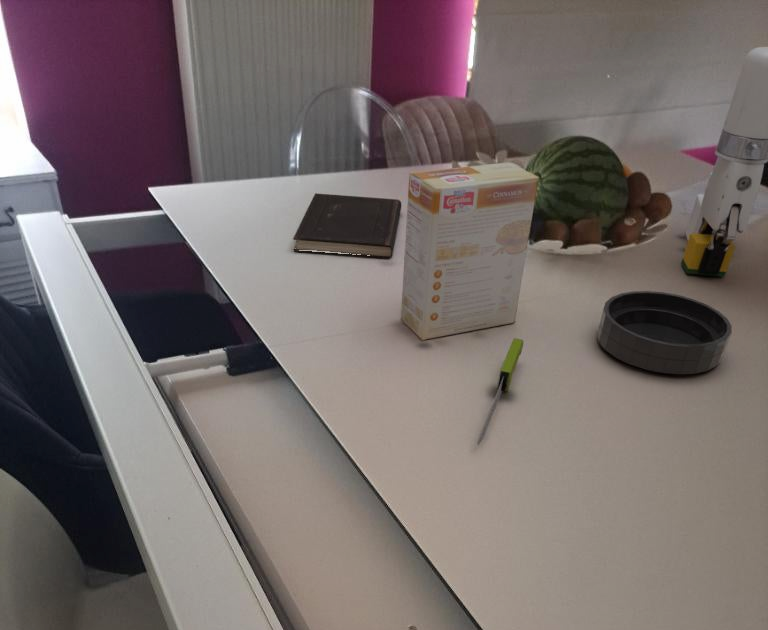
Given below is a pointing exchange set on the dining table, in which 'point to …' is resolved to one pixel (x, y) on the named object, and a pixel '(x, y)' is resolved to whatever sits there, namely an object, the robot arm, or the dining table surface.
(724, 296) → the dining table surface
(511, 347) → the kitchen knife
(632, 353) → the bowl
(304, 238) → the hardcover book
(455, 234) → the coffeecake box
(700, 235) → the sponge
